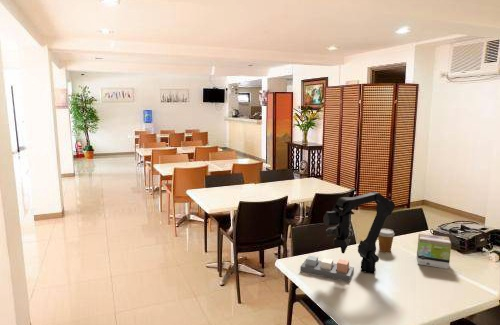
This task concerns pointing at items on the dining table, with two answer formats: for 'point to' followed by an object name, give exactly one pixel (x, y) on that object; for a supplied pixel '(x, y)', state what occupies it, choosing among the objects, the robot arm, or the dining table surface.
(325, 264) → the cream key
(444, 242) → the tea box
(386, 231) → the disposable coffee cup
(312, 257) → the light grey cube
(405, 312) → the dining table surface
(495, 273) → the dining table surface
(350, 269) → the grey slotted tray
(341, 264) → the terracotta key
